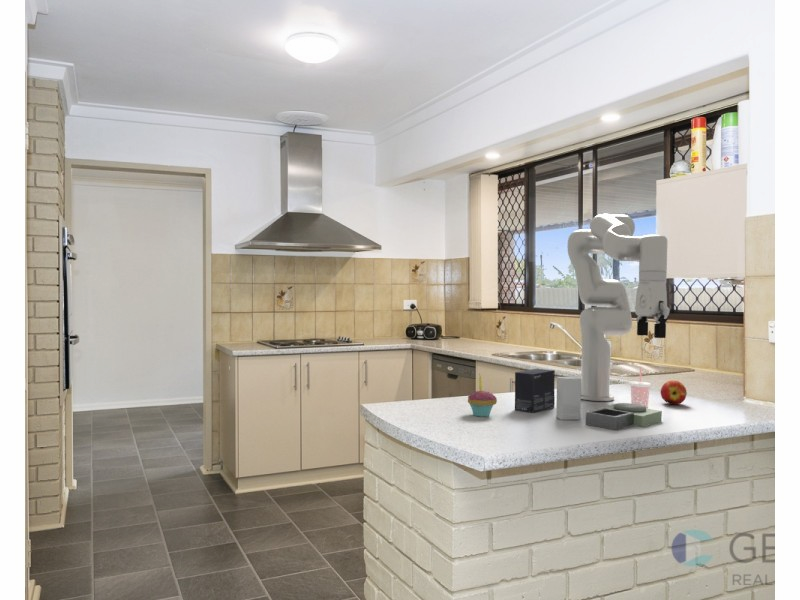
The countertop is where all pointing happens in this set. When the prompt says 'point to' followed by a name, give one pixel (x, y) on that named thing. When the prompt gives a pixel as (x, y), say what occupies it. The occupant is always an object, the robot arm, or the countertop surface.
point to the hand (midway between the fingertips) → (650, 336)
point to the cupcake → (481, 401)
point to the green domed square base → (638, 413)
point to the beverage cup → (640, 392)
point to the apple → (673, 392)
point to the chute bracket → (610, 418)
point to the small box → (534, 390)
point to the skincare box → (568, 398)
